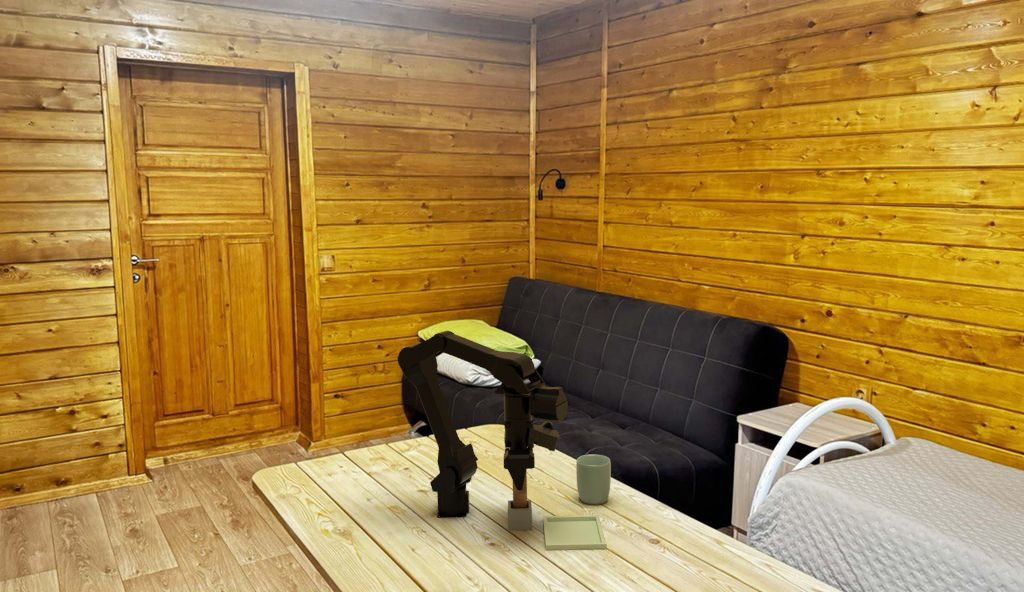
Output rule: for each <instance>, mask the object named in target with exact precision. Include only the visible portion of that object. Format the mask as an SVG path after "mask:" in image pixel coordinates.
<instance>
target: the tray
mask: <svg viewBox="0 0 1024 592" xmlns="http://www.w3.org/2000/svg"><path fill="white" fill-rule="evenodd" d="M542 517H543V518H542V521H543V533H544V543H545V551H580V550H587V551H588V550H607V549H608V548H607V541H606V537H605V532H604V530H603V525H602V522H601V518H600V515H599V514H597V515H595V514H590V515H589V514H588V515H587V514H585V515H584V514H583V515H543V516H542Z"/></svg>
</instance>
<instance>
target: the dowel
mask: <svg viewBox="0 0 1024 592" xmlns="http://www.w3.org/2000/svg"><path fill="white" fill-rule="evenodd" d="M527 470H528V469H526V474H525V479H524V484H523V489H522V490H517V489H516V486H515V484H514V482H513V481H512V500H513V509H519V508H527V500H528V480H527V479H528V477H527V476H528V475H527V474H528V473H527Z"/></svg>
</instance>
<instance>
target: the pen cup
mask: <svg viewBox="0 0 1024 592" xmlns="http://www.w3.org/2000/svg"><path fill="white" fill-rule="evenodd" d="M532 506H533V505H532V500H531V499H527V508H519V509H513V499H511V500H507V525H508V526H507V528H508V529H507V530H508V531H512V532H513V531H533V513H532V512H533V507H532Z"/></svg>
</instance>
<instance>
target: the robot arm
mask: <svg viewBox="0 0 1024 592" xmlns="http://www.w3.org/2000/svg"><path fill="white" fill-rule="evenodd" d="M444 353H445V354H447V355H450V356H451V357H454V358H456V359H459V360H462V361H465V362H467V363H469V364H471V365H474V366H477V367H479V368H481V369H484V370H485V371H487V372H489V373H490V375H491V376H492V377H493V378H494V379H495V380H496V381H499V382H500V385H499V386H498V387H497V388H496V389H494V391H493V392H494V393H493V394H496V395H503V407H504V409H503V411H504V412H503V413H504V414H503V415H504V416H503V417H504V423H503V425H504V435H503V436H504V440H503V441H504V447H505V448H504V453H503V469H504V470H507V471H508V474H509V475H510V478H511V480H512V483H513V482H514V484H515V486H516V489H517V490H522V489H523V484H524V479H525V474H526V469H527V470H532V469H535V462H536V461H535V452H534V449H533V448H535V446H537V447H540V448H544V449H547V450H548V451H550V452H555V451H556V448H557V446H558V444H559V440H560V433H559V431H558V430H557V429H554V427H553V426H554V424H553V422H551V421H555V422H562V421H564V420H565V418H566V416H567V413H568V408H569V407H568V406H569V401H568V400H567V396H566V394H565V393H564V388H563V387H562V386H554V387H553V386H546V382H545V380H544V379H543V378H542V376H541V375H540V372H538V370H537V369H536V367H535V364H534V361H533V358H532V357H531V356H530V355H528V354H525V353H519V352H515V351H502V350H497V349H494V348H492V347H489V346H487V345H484V344H481V343H478V342H476V341H474V340H472V339H471V340H470V339H468V338H466V337H463V336H460V335H458V334H455V333H454V332H453V331H451V330H444V331H441V332H437V333H435V334H433V336H431V337H430V338H427V339H426V340H424V341H422V342H421V341H420V342H417V343H415V344H411V345H408V346H405V347H403V348H401V349H400V351H399V352H398V355H397V359H396V360H397V363H398V366H399V368H400V370H401V371H402V374H403V375H404V377H405V378H406V379H407V380H408V381H409V382H410V383H411V384H412V385H413V386H414V387H415V388H416V391H417V394H418V397H419V399H420V402H421V405H422V407H423V410H424V412H425V415H426V418H427V421H428V422H429V426H430V428H431V429H430V430H431V431H432V433H433V436H434V438H435V439H434V440H435V442H436V444H437V448H438V450H437V451H438V452H437V461H436V462H437V467H438V471H439V473H438V474H437V475H436V476H435V477H434V478H433V479H432V480H431V481H430V482H429V484H430V486H431V491H432V492H434V493H436V495H437V496H436V497H437V500H436V501H437V515H436V518H439V519H441V518H442V519H444V518H445V519H448V518H451V519H452V518H467V515H468V513H469V512H470V491H469V490H467V484H469V483H471V481H472V477H473V476H475V475H476V473H477V470H478V462H477V461H478V460H479V459H478V457H477V456H476V453H475V451H474V447H473V444H472V443H467V444H465V443H464V442H463V441H462V440H461V439H460V437H459V434H458V432H457V429H456V426H455V424H454V422H453V419H452V416H451V414H450V411H449V408H448V406H447V403H446V399H445V398H444V395H443V393H442V392H443V391H442V389H441V387H440V385H439V382H438V379H437V378H438V377H437V375H438V359H437V357H439V356H440V355H443V354H444ZM527 381H529V382H528V383H526V382H527ZM532 417H533V418H532ZM534 418H535V419H538V420H539V419H540V420H545V421H544V422H543V423H542V424H536V423H535V424H534Z"/></svg>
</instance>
